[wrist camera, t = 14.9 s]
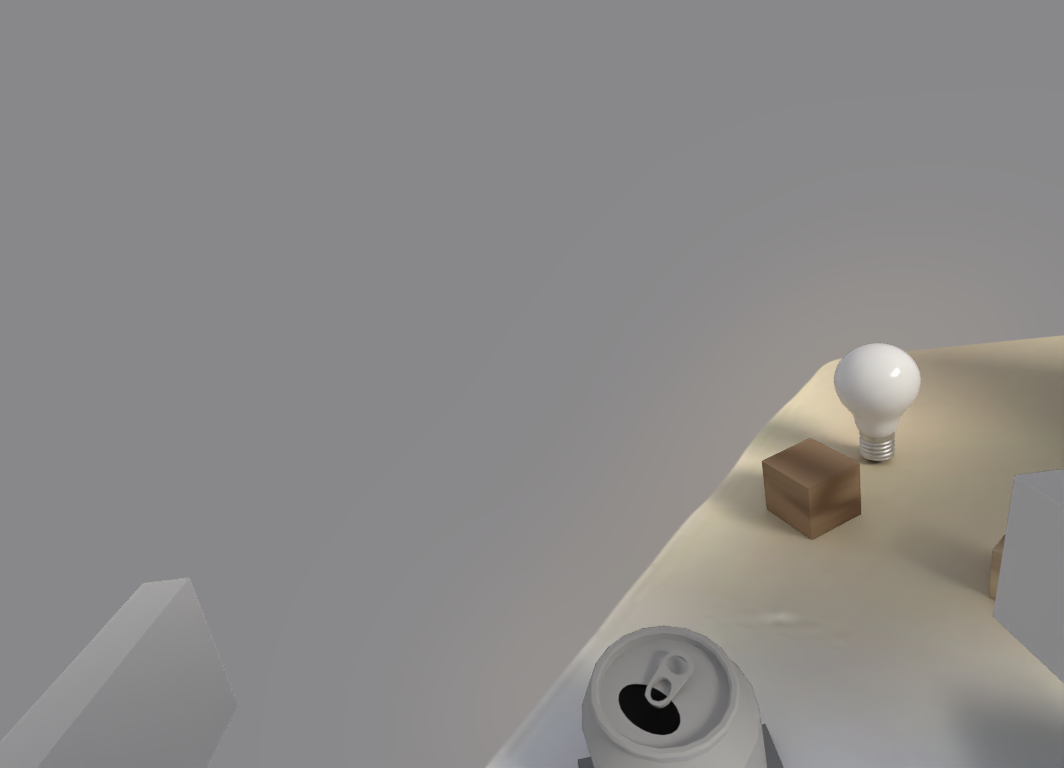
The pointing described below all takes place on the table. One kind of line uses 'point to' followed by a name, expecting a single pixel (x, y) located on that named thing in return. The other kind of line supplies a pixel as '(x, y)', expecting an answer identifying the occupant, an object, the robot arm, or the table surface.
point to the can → (671, 705)
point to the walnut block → (812, 487)
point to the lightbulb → (877, 394)
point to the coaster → (771, 754)
